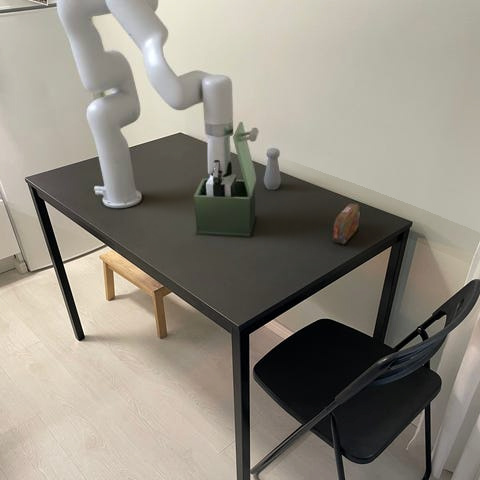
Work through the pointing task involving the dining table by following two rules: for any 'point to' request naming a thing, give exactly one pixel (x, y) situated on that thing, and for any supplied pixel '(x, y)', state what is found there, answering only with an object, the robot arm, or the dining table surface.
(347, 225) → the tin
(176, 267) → the dining table surface
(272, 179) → the salt shaker
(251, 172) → the bin lid
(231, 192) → the medicine bottle
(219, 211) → the bin
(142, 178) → the dining table surface
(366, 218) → the dining table surface
